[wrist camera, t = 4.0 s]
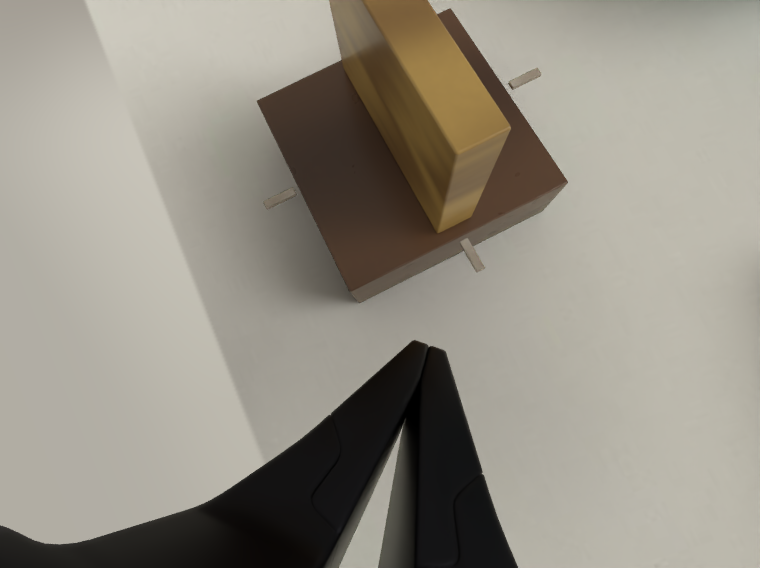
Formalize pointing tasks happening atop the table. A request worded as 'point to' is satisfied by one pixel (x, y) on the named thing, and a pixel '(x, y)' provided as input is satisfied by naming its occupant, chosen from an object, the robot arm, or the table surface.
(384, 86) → the tan wooden flat block
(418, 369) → the robot arm
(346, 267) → the brown square slab
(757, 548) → the table surface
